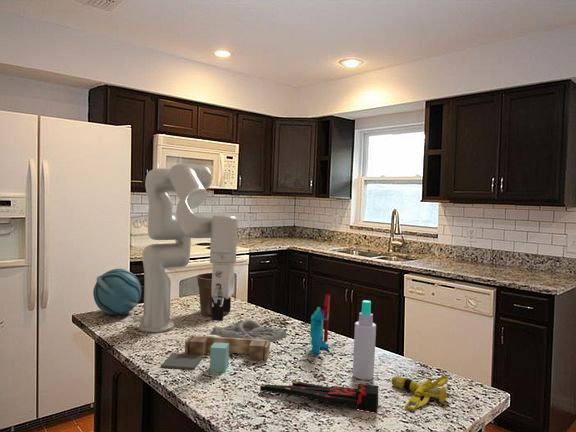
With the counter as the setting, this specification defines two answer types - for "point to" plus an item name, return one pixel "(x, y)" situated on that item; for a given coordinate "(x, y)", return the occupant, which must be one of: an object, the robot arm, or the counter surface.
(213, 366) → the block
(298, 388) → the toy
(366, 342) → the spray bottle
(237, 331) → the wall plaque
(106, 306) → the toy
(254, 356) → the rack
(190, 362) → the pad
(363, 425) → the counter surface
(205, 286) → the object
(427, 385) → the sprinkler
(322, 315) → the toy
